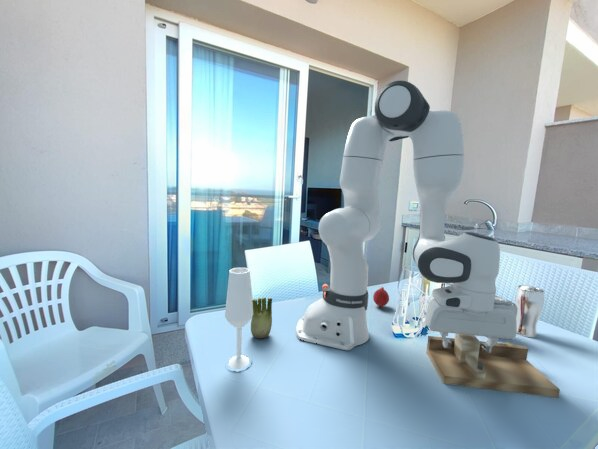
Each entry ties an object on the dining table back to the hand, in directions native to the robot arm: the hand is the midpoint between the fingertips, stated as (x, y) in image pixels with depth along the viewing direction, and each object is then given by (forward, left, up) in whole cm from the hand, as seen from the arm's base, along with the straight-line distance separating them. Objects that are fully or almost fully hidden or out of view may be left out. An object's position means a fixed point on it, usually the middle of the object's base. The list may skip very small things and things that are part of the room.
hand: (466, 349), depth 68 cm
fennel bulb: (-55, +3, -5) cm, 55 cm away
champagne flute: (-57, -10, -5) cm, 58 cm away
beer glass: (+28, +22, -5) cm, 36 cm away
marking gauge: (0, -3, -3) cm, 4 cm away
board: (+4, -2, -5) cm, 6 cm away
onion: (-16, +32, -5) cm, 36 cm away
